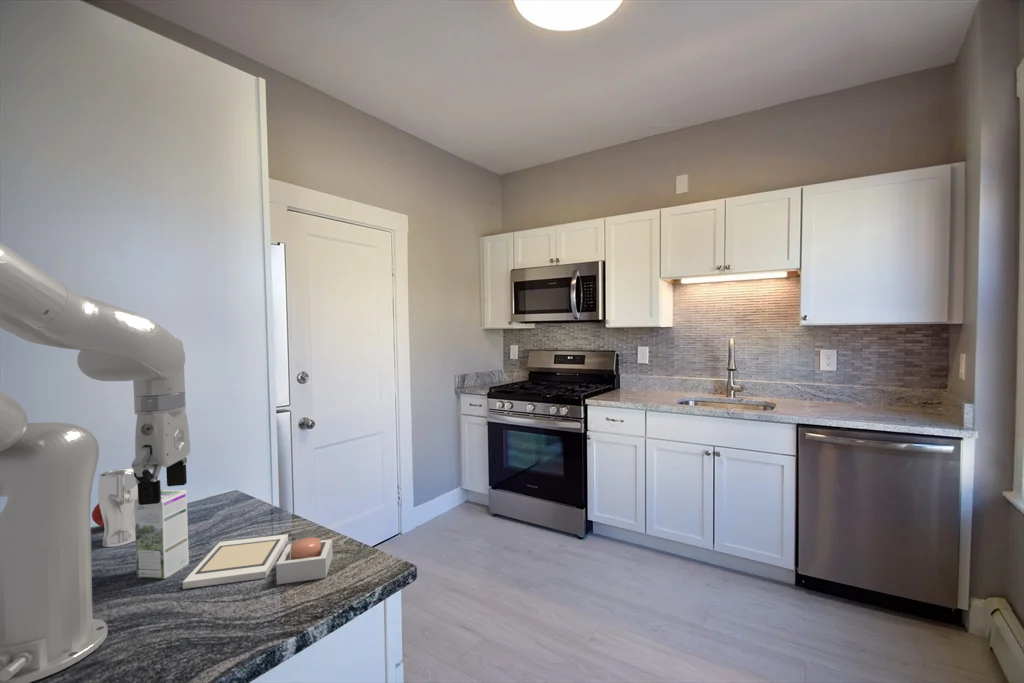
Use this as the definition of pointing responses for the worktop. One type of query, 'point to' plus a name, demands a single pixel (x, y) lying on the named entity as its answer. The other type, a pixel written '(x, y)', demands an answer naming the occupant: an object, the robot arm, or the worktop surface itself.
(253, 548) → the picture board
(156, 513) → the syrup box
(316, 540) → the button
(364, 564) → the worktop surface
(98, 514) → the onion
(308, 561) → the button housing
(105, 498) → the beer glass
